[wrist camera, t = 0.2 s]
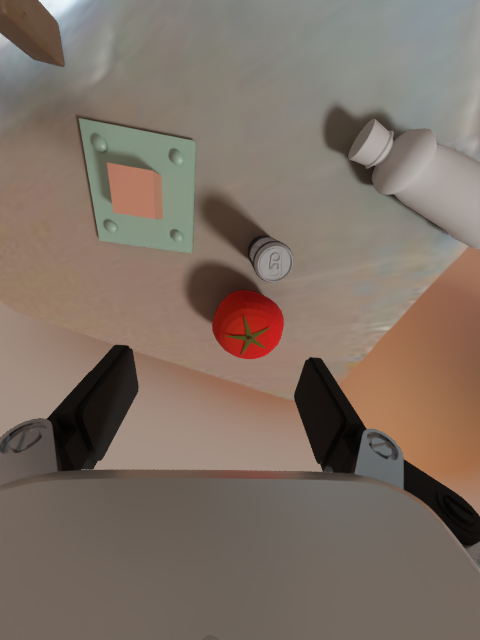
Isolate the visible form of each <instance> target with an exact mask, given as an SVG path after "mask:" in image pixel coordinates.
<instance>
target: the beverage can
mask: <svg viewBox="0 0 480 640" xmlns="http://www.w3.org/2000/svg"><path fill="white" fill-rule="evenodd" d="M248 257H249V259H250V261H251V264H252V266H253V268H254V270H255V272H256V274H257V275H258V277H259V278H261V279H262V280H264V281H267V282H278V281H281V280H283V279H284V278H285V277H287V276H288V274H289V273H290V271H291V269H292V266H293V255H292V252H291V250H290V249H289V247H288V246H286V245H285V244H283V243H281V242H279V241H277V240H275V239H273V238H271V237H269V236H265V235H263V236H259V237H257V238H255V239H254V240H253V241H252V242H251V243H250V245H249V248H248Z"/></svg>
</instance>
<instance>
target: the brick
mask: <svg viewBox="0 0 480 640" xmlns="http://www.w3.org/2000/svg"><path fill="white" fill-rule="evenodd" d="M107 168H108V176H109V183H110V191H111V198H112V206H113V213H119V214H126V215H132V216H139V217H145V218H152V219H163V202H162V176H161V175H159V174H158V173H156V172H154V171H152V170H146V169H141V168H135V167H129V166H124V165H118V164H112V163H107Z"/></svg>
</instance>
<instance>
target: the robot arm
mask: <svg viewBox="0 0 480 640" xmlns="http://www.w3.org/2000/svg"><path fill="white" fill-rule="evenodd" d="M137 392H138V380H137V375H136V368H135V362H134V356H133V350H132V349H130V348H129V346H127V345H114V346H113V347H112V349H111V350H110V351H109V352H108V353H107V354H106V355H105V356H104V358H103V359H102V360H101V361H100V362H99V363H98V364H97V365H96V366H95V367H94V368H93V370H92V371H90V372H89V373H88V374H87V375H86V376H85V377H84V378H83V380H82V381H81V382H80V383H79V384H78V385H77V386H76V387H75V388H74V389H73V391H72V392H71V393H70V394H69V395H68V396H67V397H66V398H65V399H64V400H63V402H62V403H61V404H60V405H59V406H58V407H57V408H56V409H55V410H54V411H53V413H52V414H51V415H50V416H49V417H48V418H47V419H43V418H39V419H32V420H29V421H26V422H23V423H21V424H19V425H17V426H15V427H14V428H12V429H10V430H9V431H7V432H6V433H5V434H4V435H3V436H1V437H0V640H480V516H479V515H478V514H477V513H476V511H475V510H474V509H473V508H472V506H470V504H468V503H467V502H466V501H465V500H464V499H463V498H462V497H460V496H459V495H458V494H456V493H455V492H454V491H452V490H450V489H449V488H447V487H446V486H444V485H443V484H441V483H440V482H438V481H436V480H435V479H433V478H432V477H430V476H429V475H427V474H426V473H424V472H423V471H421V470H419V469H418V468H416V467H415V466H413V465H412V464H410V463H409V462H407V461H406V460H404V459H403V453H402V451H401V449H400V447H399V446H398V445H397V444H396V442H395V441H394V440H393V439H391V438H390V437H389V436H388V435H386V434H385V433H383V432H381V431H378V430H375V429H366V428H365V426H364V424H363V423H362V421H361V419H360V418H359V416H358V415H357V413H356V412H355V410H354V408H353V407H352V405H351V404H350V402H349V401H348V399H347V398H346V396H345V395H344V393H343V392H342V390H341V388H340V387H339V385H338V384H337V382H336V381H335V379H334V377H333V376H332V374H331V373H330V371H329V370H328V368H327V367H326V365H325V363H324V362H323V360H322V359H321V358H312V357H310V358H309V359H308V360H306V361H305V364H304V367H303V370H302V373H301V376H300V379H299V382H298V385H297V388H296V391H295V394H294V399H295V402H296V405H297V408H298V411H299V414H300V417H301V419H302V422H303V425H304V427H305V431H306V433H307V436H308V439H309V442H310V445H311V448H312V450H313V453H314V456H315V459H316V461H317V463H318V464H320V465H321V468H322V470H323V472H305V471H242V470H81V469H94V467H95V465H96V463H97V461H100V460H102V459H103V457H104V455H105V453H106V452H107V450H108V447H109V445H110V444H111V442H112V440H113V438H114V436H115V434H116V433H117V431H118V429H119V427H120V425H121V423H122V421H123V419H124V417H125V415H126V414H127V412H128V410H129V408H130V406H131V404H132V402H133V400H134V398H135V396H136V395H137Z"/></svg>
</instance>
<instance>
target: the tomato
mask: <svg viewBox="0 0 480 640" xmlns="http://www.w3.org/2000/svg"><path fill="white" fill-rule="evenodd" d="M283 326H284V319H283V315H282V312H281V310H280V308H279V307H278V306H277V304H276V303H274V302H273V301H272V300H271V299H269V298H267V297H265V296H264V295H262V294H260V293H257V292H254V291H251V290H239V291H235V292H232V293H230V294H229V295H228V296H227V297H226V298H225V299H224V300H223V301H222V302H221V303H220V305H219V307H218V309H217V311H216V313H215V316H214V320H213V324H212V328H213V333H214V336H215V338H216V340H217V341H218V342H219V344H220V345H221V346H222V347H223V349H224V350H225V351H227V352H228V353H230V354H232V355H234V356H236V357H239V358H243V359H256V358H260V357H263V356H265V355H267V354H268V353H269V352H271V351H272V350H273V349H274V348H275V347H276V346H277V345H278V343H279V341H280V339H281V335H282V331H283Z"/></svg>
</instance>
